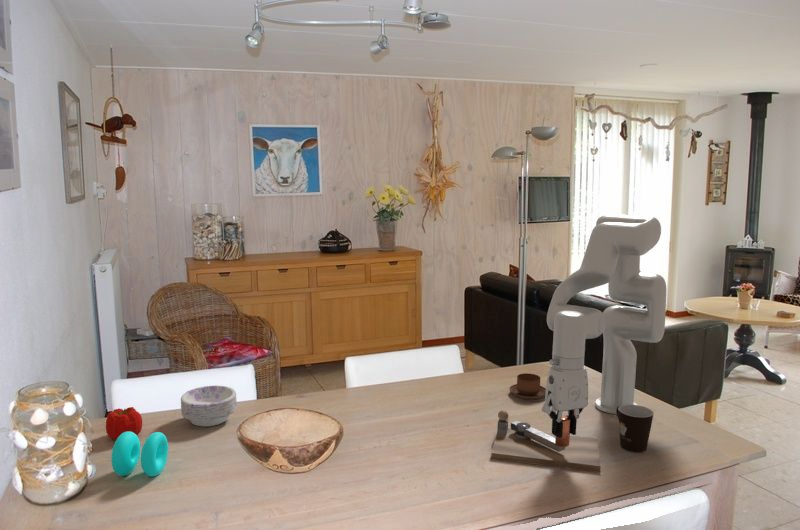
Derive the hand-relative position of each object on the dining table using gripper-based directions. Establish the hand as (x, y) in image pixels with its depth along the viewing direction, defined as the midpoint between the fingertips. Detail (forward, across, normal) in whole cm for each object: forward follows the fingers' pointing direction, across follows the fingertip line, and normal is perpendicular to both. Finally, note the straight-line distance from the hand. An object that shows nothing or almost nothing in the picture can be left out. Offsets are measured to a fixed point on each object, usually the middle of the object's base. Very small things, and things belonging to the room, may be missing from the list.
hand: (563, 433), depth 150 cm
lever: (+4, -1, +8) cm, 9 cm away
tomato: (+9, -98, +61) cm, 116 cm away
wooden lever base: (+7, 0, +6) cm, 10 cm away
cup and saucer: (+6, +21, +41) cm, 46 cm away
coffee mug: (+7, +23, 0) cm, 24 cm away
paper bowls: (+9, -75, +63) cm, 99 cm away
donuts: (+9, -95, +37) cm, 102 cm away
